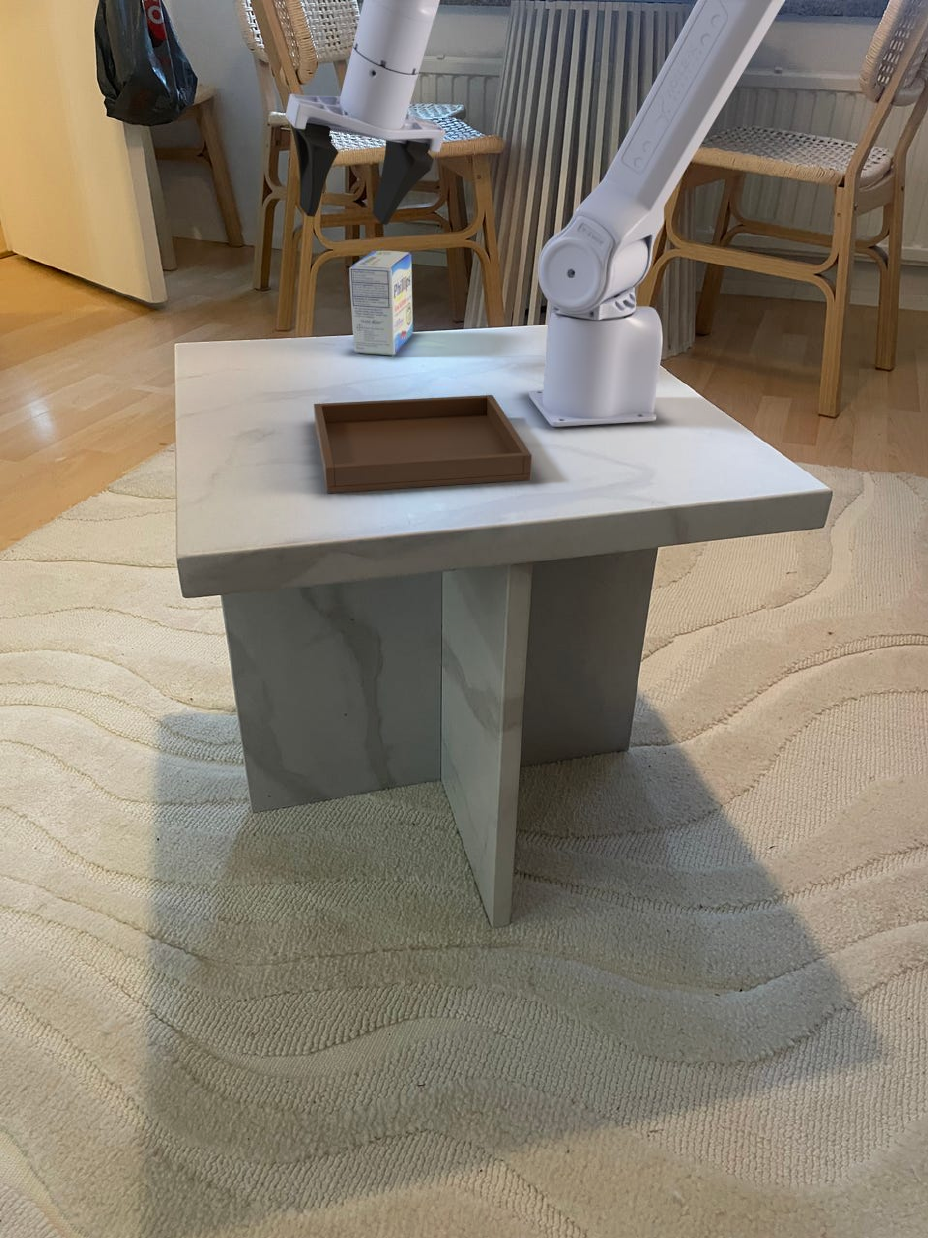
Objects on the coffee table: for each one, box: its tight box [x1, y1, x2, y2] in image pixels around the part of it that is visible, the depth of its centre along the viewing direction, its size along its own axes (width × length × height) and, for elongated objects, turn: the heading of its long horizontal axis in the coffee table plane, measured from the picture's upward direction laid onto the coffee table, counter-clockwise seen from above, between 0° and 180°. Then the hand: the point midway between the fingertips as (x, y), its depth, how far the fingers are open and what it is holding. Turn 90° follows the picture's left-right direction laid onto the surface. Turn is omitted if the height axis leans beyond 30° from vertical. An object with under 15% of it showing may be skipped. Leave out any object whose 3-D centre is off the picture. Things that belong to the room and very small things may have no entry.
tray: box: [313, 394, 533, 494], centre depth 72 cm, size 15×13×2 cm
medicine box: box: [348, 250, 414, 357], centre depth 94 cm, size 8×4×9 cm, turn 168°
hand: (344, 215), depth 85 cm, fingers open, 7 cm apart
